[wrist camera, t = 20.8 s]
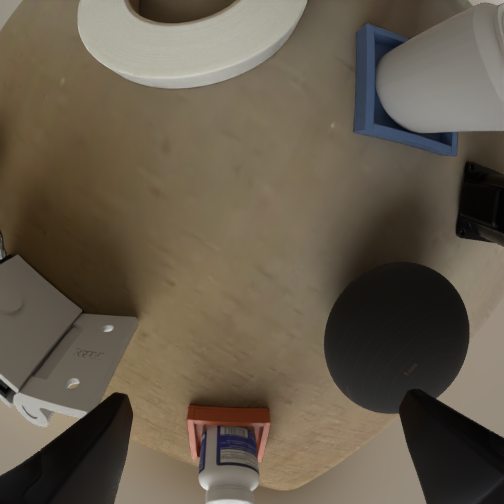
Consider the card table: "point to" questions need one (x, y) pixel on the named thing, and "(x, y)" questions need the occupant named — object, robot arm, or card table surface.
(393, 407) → the speaker
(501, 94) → the beverage can
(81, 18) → the tape roll
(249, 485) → the pill bottle
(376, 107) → the blue square tray
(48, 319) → the hinge
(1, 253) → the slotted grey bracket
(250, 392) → the card table surface
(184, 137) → the card table surface
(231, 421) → the terracotta tray
